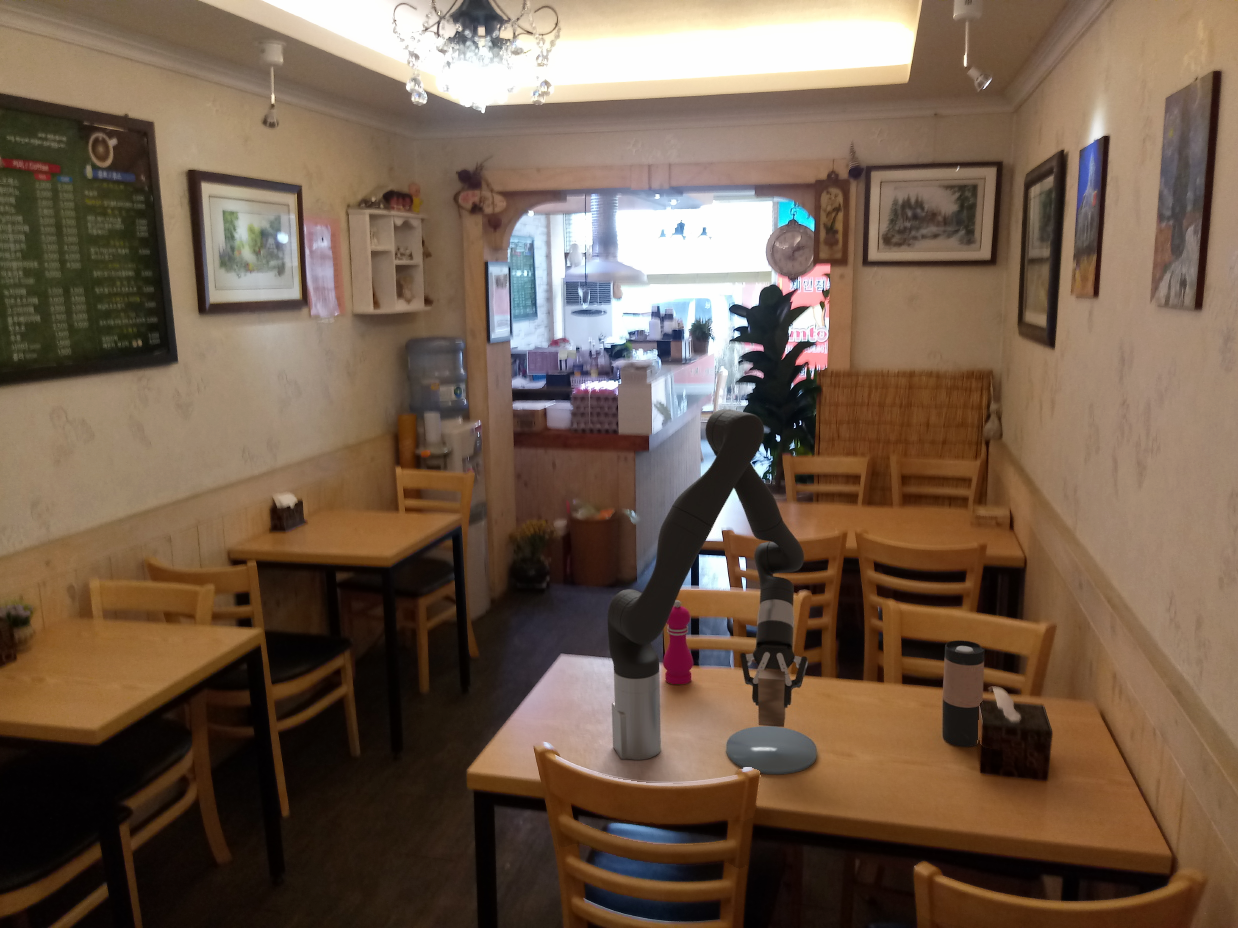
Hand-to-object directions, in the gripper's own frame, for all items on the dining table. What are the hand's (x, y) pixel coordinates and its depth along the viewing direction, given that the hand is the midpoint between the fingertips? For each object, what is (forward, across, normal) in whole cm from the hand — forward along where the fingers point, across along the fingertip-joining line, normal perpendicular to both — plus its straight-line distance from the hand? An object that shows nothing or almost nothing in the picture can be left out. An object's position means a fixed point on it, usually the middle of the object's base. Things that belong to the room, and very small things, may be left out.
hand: (771, 704), depth 185 cm
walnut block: (+2, 0, +4) cm, 5 cm away
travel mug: (-2, +38, +18) cm, 42 cm away
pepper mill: (-16, -25, +32) cm, 43 cm away
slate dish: (+7, 0, +9) cm, 11 cm away
